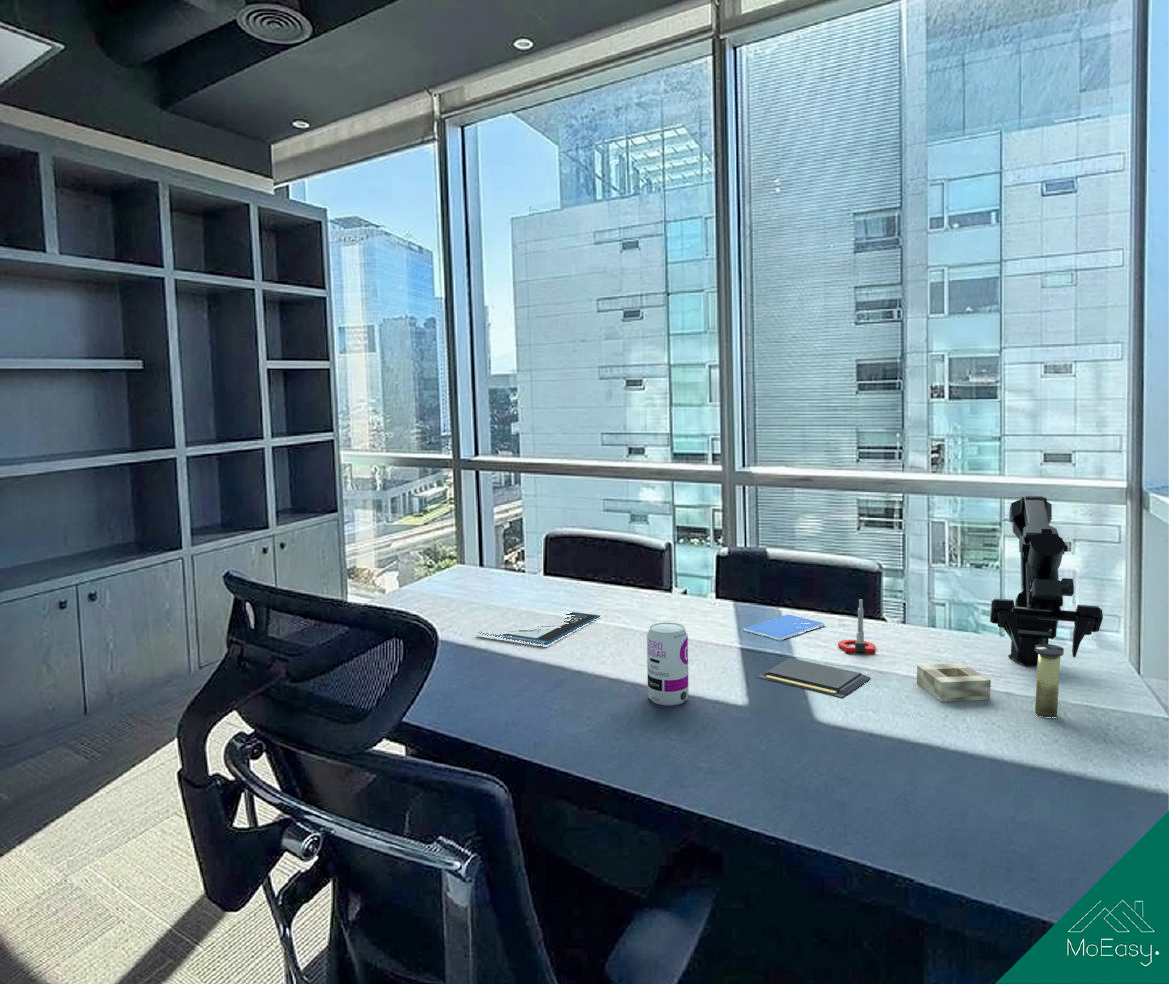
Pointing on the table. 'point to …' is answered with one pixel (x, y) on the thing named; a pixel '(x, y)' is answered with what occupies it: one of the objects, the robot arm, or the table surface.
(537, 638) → the sketchbook
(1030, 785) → the table surface
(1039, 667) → the brass pin
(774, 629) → the tablet computer
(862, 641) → the tow hook
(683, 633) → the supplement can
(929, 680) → the socket block
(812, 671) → the dark gray book
